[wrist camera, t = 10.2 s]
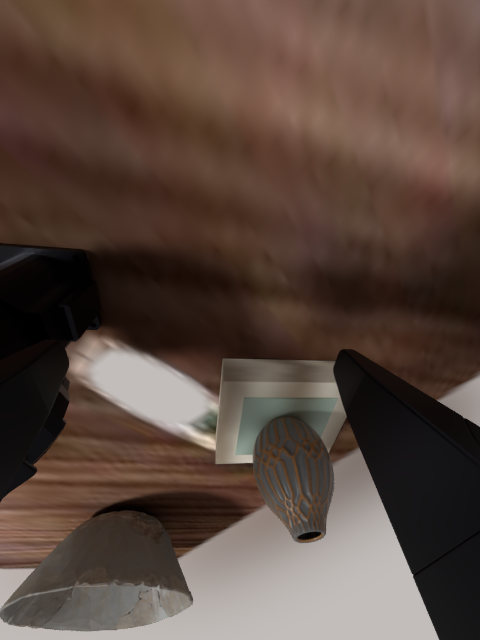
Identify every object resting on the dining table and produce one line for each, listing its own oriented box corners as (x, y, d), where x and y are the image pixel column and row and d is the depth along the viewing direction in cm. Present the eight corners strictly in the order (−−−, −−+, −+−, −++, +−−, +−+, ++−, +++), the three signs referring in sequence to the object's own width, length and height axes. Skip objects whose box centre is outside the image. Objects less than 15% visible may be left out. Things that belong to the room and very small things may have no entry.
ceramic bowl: (25, 534, 40) (-25, 633, 32) (84, 468, 32) (38, 578, 23) (150, 553, 49) (137, 634, 41) (222, 505, 41) (225, 594, 32)
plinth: (215, 439, 31) (215, 465, 28) (222, 358, 24) (223, 383, 21) (316, 437, 33) (325, 462, 30) (349, 361, 26) (364, 384, 23)
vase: (327, 428, 26) (371, 533, 19) (273, 455, 28) (294, 560, 21) (293, 395, 23) (330, 506, 16) (234, 429, 25) (243, 541, 18)
